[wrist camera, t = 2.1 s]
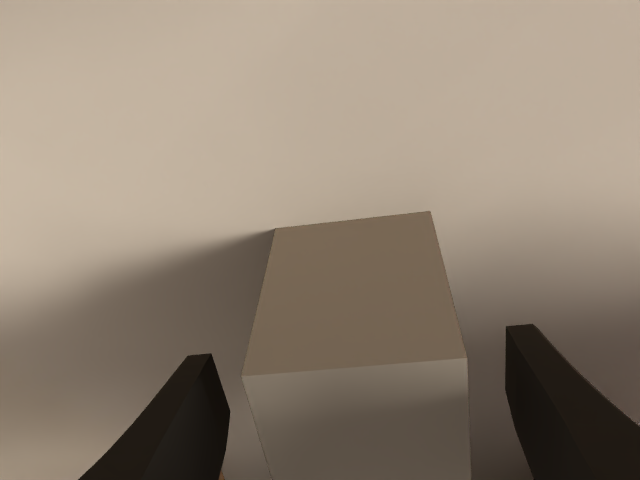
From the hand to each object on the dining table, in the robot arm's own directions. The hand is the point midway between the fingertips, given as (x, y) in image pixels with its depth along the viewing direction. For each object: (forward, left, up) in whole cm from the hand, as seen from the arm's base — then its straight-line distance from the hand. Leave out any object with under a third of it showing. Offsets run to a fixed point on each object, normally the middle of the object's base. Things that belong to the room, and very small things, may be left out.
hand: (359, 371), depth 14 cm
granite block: (0, 0, -4) cm, 4 cm away
